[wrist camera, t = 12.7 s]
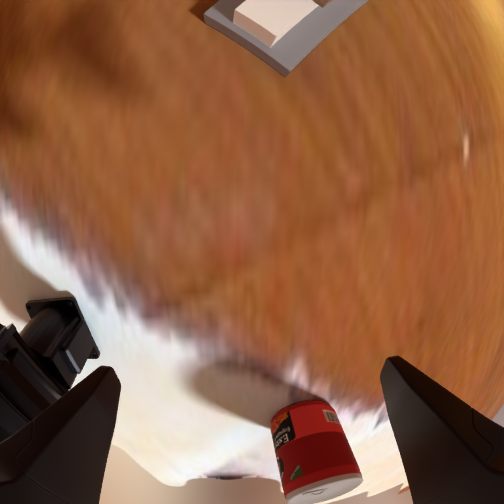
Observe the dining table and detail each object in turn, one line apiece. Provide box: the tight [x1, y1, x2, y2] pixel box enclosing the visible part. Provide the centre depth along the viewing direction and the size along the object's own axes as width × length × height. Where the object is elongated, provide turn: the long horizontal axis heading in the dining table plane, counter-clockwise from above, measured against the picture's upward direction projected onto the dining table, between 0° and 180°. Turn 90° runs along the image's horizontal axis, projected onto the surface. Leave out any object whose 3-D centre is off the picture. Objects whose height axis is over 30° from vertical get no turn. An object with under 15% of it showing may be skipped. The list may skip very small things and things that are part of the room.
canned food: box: [271, 400, 363, 504], centre depth 23 cm, size 8×8×11 cm
